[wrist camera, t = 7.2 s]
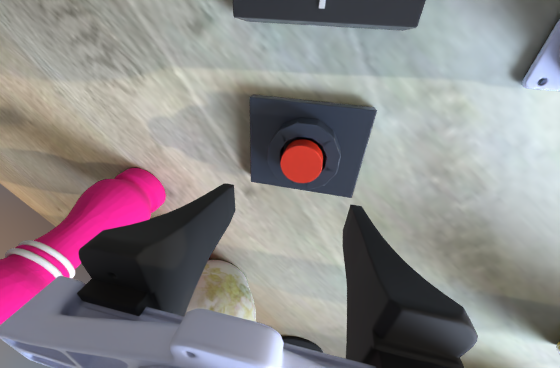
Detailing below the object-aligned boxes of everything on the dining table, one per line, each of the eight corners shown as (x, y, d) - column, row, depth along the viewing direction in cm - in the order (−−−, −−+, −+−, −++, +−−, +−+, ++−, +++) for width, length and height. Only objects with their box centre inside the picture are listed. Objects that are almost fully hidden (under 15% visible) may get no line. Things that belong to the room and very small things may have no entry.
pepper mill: (145, 213, 33) (-46, 384, 16) (110, 173, 30) (-168, 331, 13) (179, 201, 30) (-9, 393, 13) (144, 156, 27) (-153, 329, 11)
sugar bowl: (155, 252, 38) (68, 353, 25) (207, 219, 31) (122, 336, 18) (234, 314, 44) (195, 421, 31) (293, 298, 37) (272, 427, 24)
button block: (375, 107, 19) (381, 116, 17) (350, 191, 24) (352, 208, 21) (253, 94, 21) (242, 100, 18) (253, 176, 25) (245, 190, 23)
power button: (326, 141, 19) (325, 148, 18) (319, 177, 21) (318, 186, 20) (284, 136, 19) (281, 142, 18) (282, 171, 21) (279, 180, 20)
